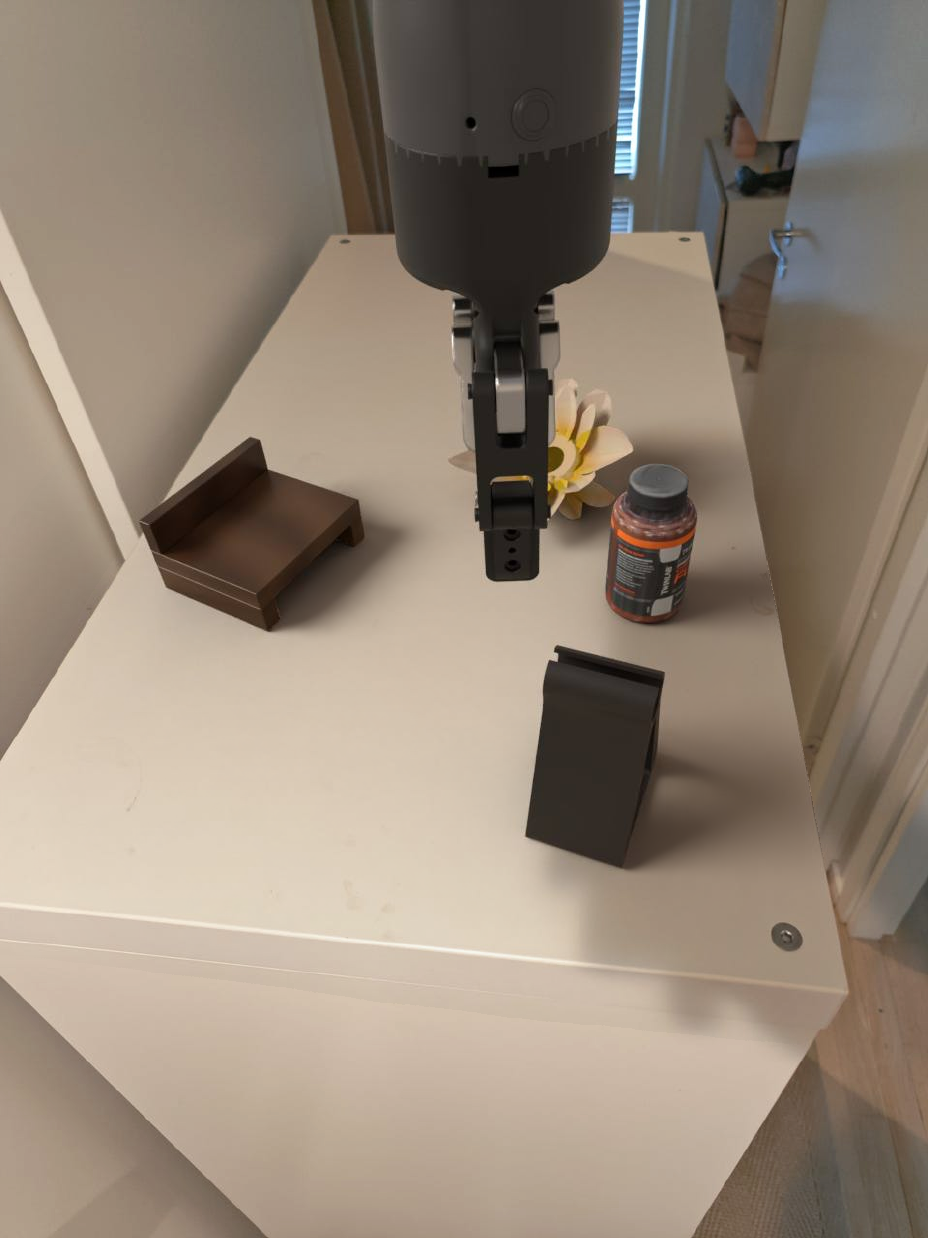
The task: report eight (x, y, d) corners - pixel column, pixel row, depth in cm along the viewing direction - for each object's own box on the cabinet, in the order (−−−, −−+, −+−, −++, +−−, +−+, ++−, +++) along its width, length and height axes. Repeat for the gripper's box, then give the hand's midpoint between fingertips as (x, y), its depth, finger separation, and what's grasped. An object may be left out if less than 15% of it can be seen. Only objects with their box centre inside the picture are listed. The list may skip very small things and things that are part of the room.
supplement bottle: (683, 630, 63) (705, 508, 55) (602, 624, 64) (613, 503, 56) (681, 576, 67) (702, 456, 59) (605, 571, 68) (616, 452, 60)
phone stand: (569, 728, 57) (576, 599, 49) (657, 753, 55) (680, 624, 47) (524, 838, 51) (523, 714, 43) (620, 871, 50) (639, 747, 41)
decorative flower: (424, 458, 78) (443, 356, 71) (522, 442, 83) (548, 346, 77) (516, 554, 69) (546, 447, 63) (618, 529, 75) (655, 429, 68)
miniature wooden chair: (268, 632, 65) (246, 563, 60) (165, 587, 70) (138, 520, 65) (365, 536, 73) (353, 468, 68) (267, 502, 77) (249, 436, 72)
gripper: (395, 61, 32) (431, 431, 44) (363, 192, 22) (420, 628, 33) (594, 48, 32) (577, 424, 43) (653, 175, 22) (610, 621, 33)
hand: (508, 512), depth 38 cm, fingers open, 8 cm apart
